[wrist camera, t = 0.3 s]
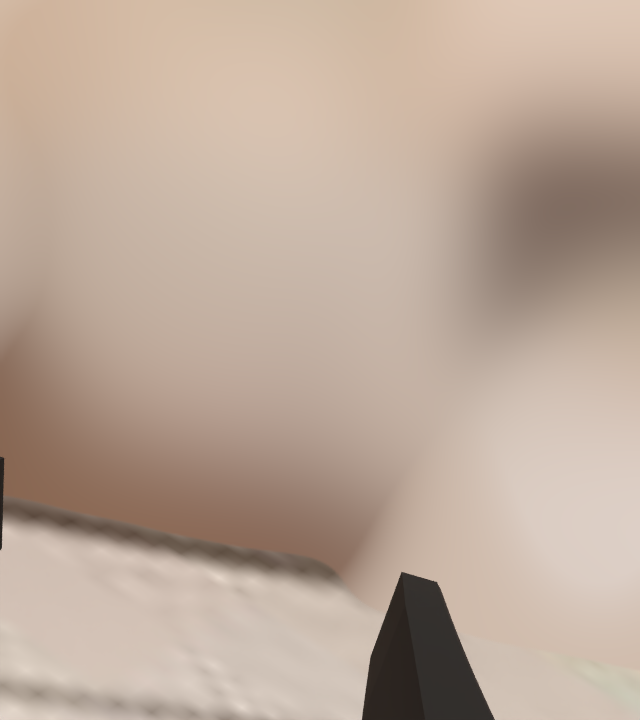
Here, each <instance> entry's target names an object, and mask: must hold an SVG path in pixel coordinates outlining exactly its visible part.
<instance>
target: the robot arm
mask: <svg viewBox="0 0 640 720" xmlns="http://www.w3.org/2000/svg"><path fill="white" fill-rule="evenodd" d="M3 479H4V458H2V457H0V550H1V549H2V520H3ZM362 720H495V719H494V717H493V715H492V713H491V711H490V709H489V707H488V704H487V702H486V700H485V698H484V695H483V693H482V691H481V689H480V687H479V684H478V682H477V680H476V678H475V675H474V673H473V671H472V669H471V666H470V664H469V662H468V659H467V657H466V654H465V652H464V650H463V647H462V645H461V642H460V640H459V637H458V635H457V632H456V630H455V627H454V624H453V622H452V619H451V616H450V614H449V611H448V608H447V606H446V603H445V600H444V597H443V595H442V592H441V589H440V587H439V586H438V584H437V582H434V581H431V580H428V579H424V578H421V577H417V576H414V575H410V574H407V573H403V572H402V573H401V575H400V578H399V581H398V584H397V586H396V589H395V592H394V595H393V597H392V600H391V602H390V605H389V608H388V611H387V613H386V616H385V619H384V622H383V624H382V627H381V630H380V633H379V635H378V638H377V641H376V643H375V646H374V649H373V652H372V654H371V658H370V665H369V672H368V679H367V686H366V693H365V701H364V708H363V716H362Z"/></svg>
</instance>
